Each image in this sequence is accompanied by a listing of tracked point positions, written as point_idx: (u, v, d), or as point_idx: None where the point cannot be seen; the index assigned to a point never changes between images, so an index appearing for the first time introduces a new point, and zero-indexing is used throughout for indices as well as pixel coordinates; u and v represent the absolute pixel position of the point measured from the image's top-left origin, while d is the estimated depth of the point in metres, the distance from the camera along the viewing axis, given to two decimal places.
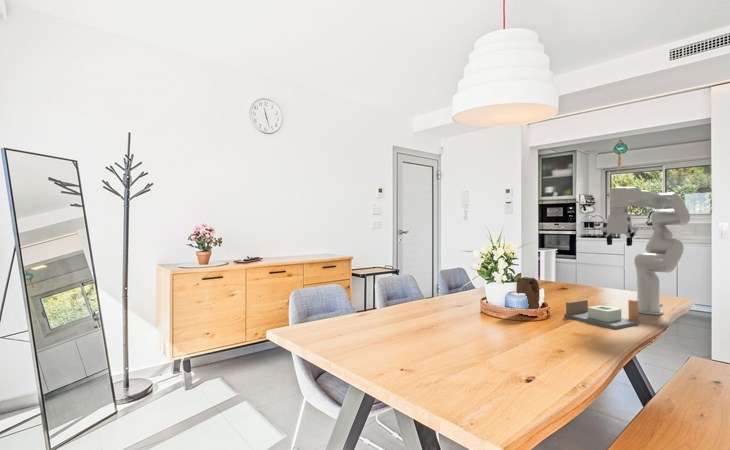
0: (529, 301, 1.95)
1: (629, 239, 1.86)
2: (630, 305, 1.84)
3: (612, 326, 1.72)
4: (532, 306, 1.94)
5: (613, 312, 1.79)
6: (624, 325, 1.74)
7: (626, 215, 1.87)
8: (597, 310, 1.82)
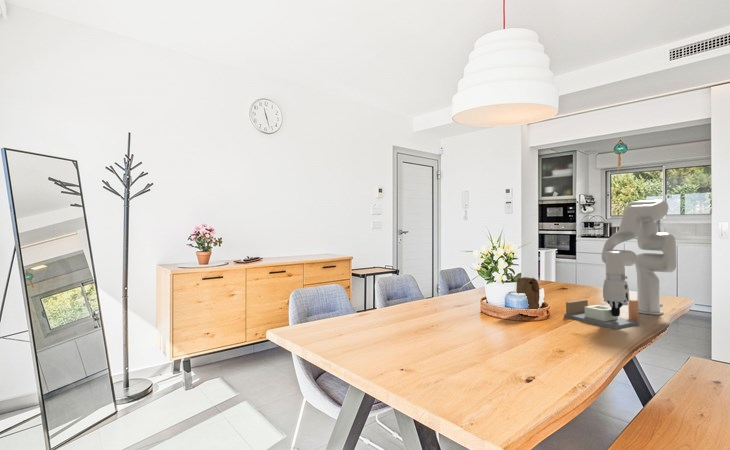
0: (529, 301, 1.95)
1: (617, 309, 1.78)
2: (630, 305, 1.84)
3: (612, 326, 1.72)
4: (532, 306, 1.94)
5: (610, 311, 1.81)
6: (624, 325, 1.74)
7: (623, 283, 1.75)
8: (594, 309, 1.83)
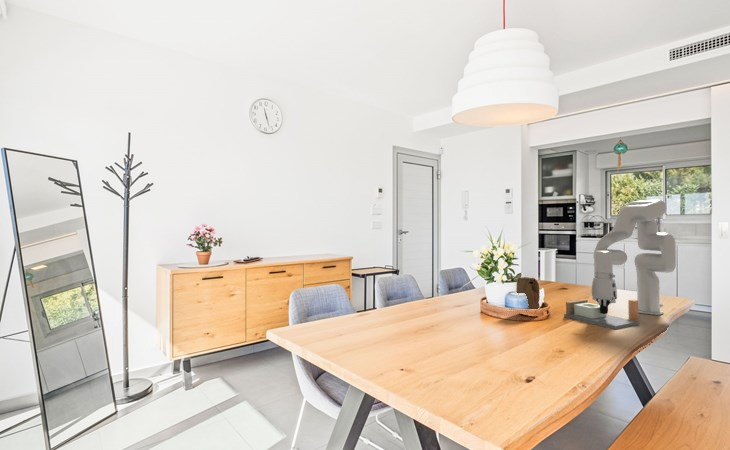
0: (529, 301, 1.95)
1: (605, 307, 1.83)
2: (630, 305, 1.84)
3: (612, 326, 1.72)
4: (532, 306, 1.94)
5: (598, 309, 1.86)
6: (624, 325, 1.74)
7: (611, 281, 1.80)
8: (583, 307, 1.89)
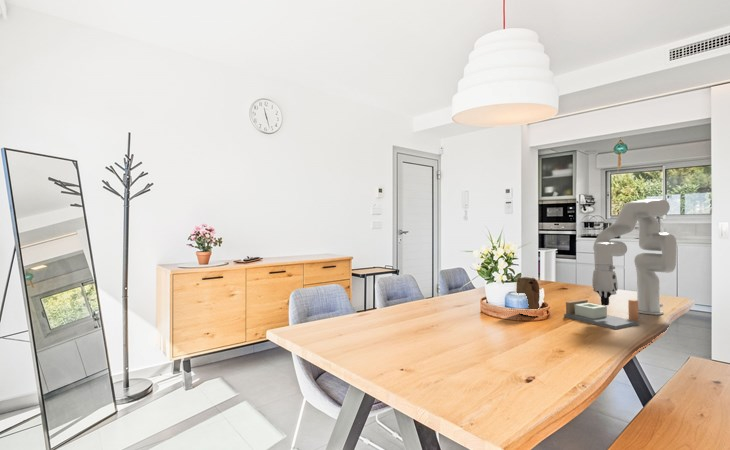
0: (529, 301, 1.95)
1: (606, 299, 1.83)
2: (630, 305, 1.84)
3: (612, 326, 1.72)
4: (532, 306, 1.94)
5: (599, 309, 1.85)
6: (624, 325, 1.74)
7: (611, 273, 1.80)
8: (583, 307, 1.88)
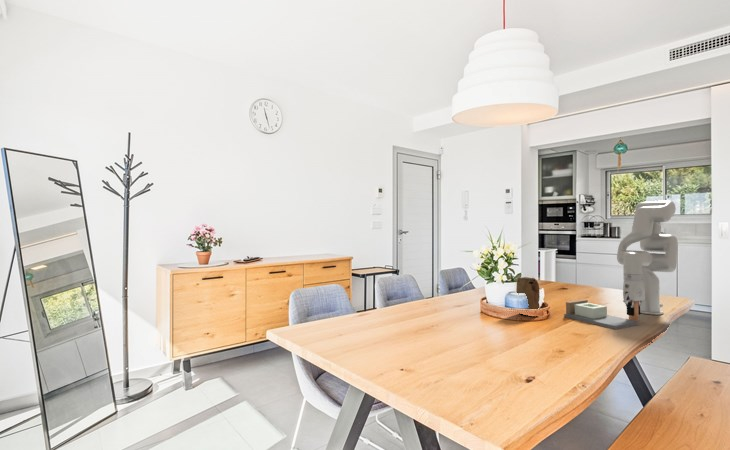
0: (529, 301, 1.95)
1: (627, 308, 1.84)
2: None
3: (612, 326, 1.72)
4: (532, 306, 1.94)
5: (599, 309, 1.85)
6: (624, 325, 1.74)
7: (625, 281, 1.84)
8: (583, 307, 1.88)
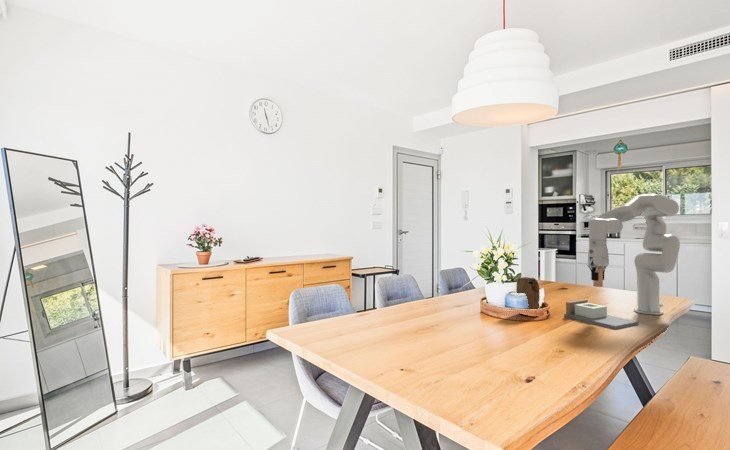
0: (529, 301, 1.95)
1: (592, 273, 1.89)
2: None
3: (612, 326, 1.72)
4: (532, 306, 1.94)
5: (599, 309, 1.85)
6: (624, 325, 1.74)
7: (590, 247, 1.88)
8: (583, 307, 1.88)
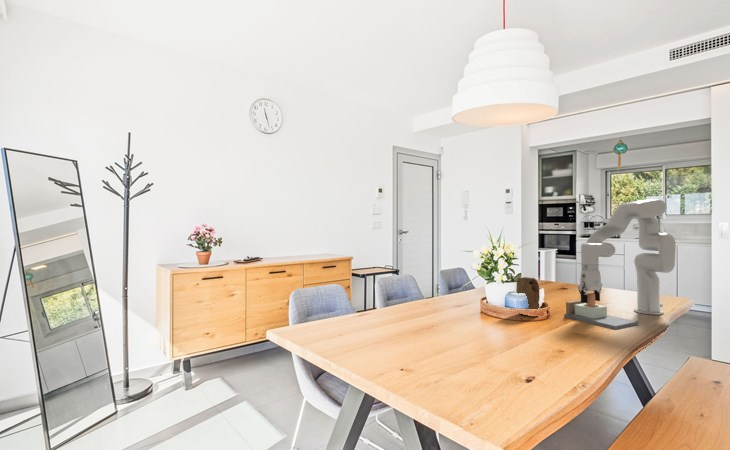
0: (529, 301, 1.95)
1: None
2: None
3: (612, 326, 1.72)
4: (532, 306, 1.94)
5: (599, 309, 1.85)
6: (624, 325, 1.74)
7: (582, 272, 1.89)
8: (583, 307, 1.88)
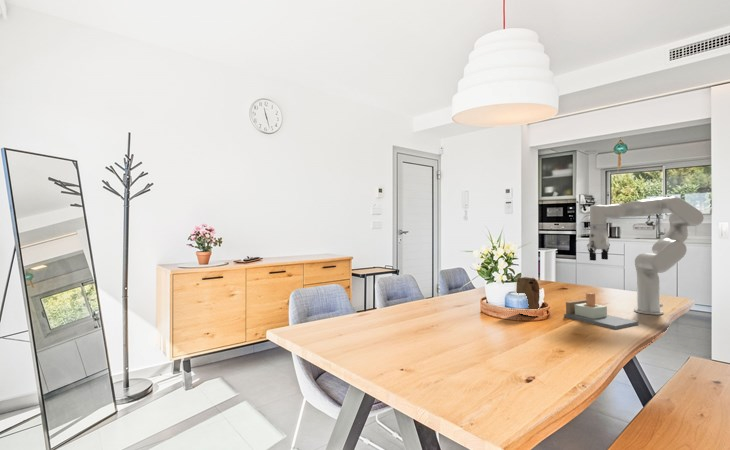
0: (529, 301, 1.95)
1: (590, 254, 2.01)
2: (587, 298, 1.90)
3: (612, 326, 1.72)
4: (532, 306, 1.94)
5: (599, 309, 1.85)
6: (624, 325, 1.74)
7: (591, 232, 2.02)
8: (583, 307, 1.88)
